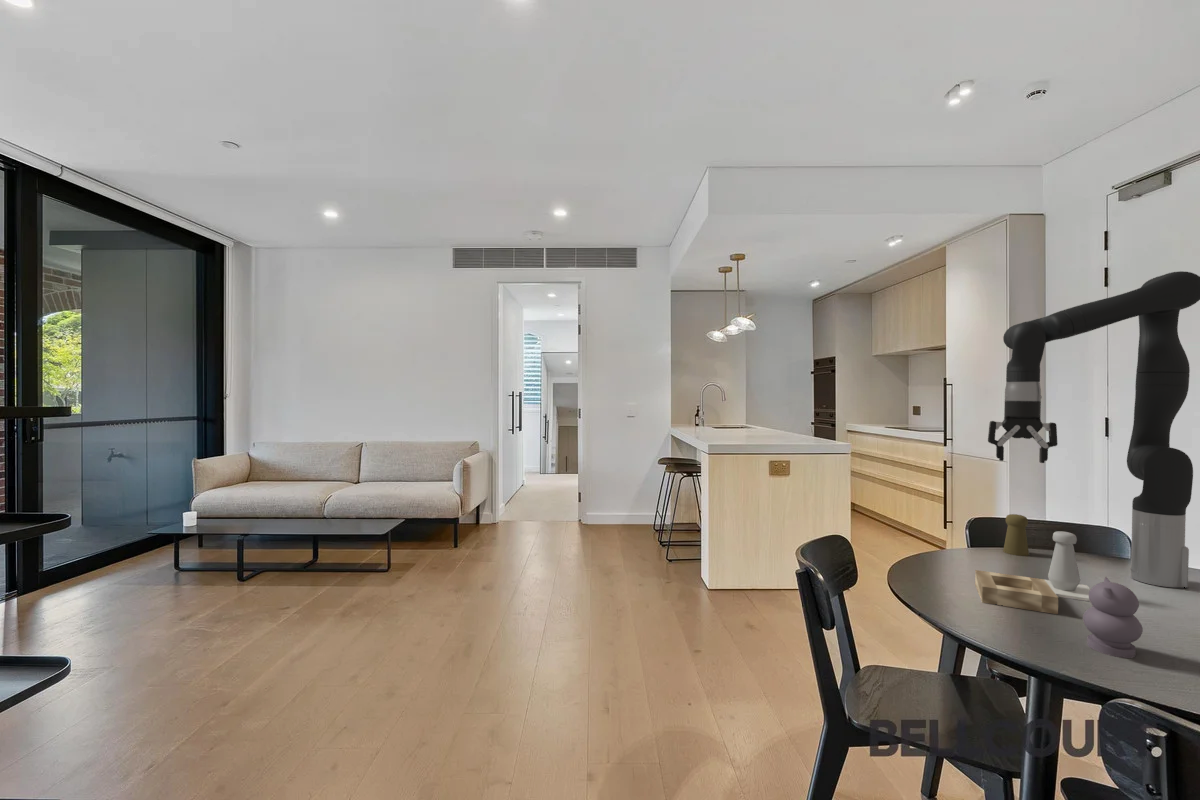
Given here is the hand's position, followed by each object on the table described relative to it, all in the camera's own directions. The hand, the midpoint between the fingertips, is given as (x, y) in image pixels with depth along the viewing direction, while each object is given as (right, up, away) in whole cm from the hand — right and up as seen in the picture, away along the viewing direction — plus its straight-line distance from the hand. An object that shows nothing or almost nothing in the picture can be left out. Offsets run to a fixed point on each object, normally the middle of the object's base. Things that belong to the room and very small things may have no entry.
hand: (1021, 461), depth 145 cm
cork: (+10, -28, +15) cm, 34 cm away
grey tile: (-2, -28, -16) cm, 32 cm away
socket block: (-18, -28, -21) cm, 39 cm away
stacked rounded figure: (-18, -29, -46) cm, 57 cm away
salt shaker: (-2, -28, -16) cm, 32 cm away
